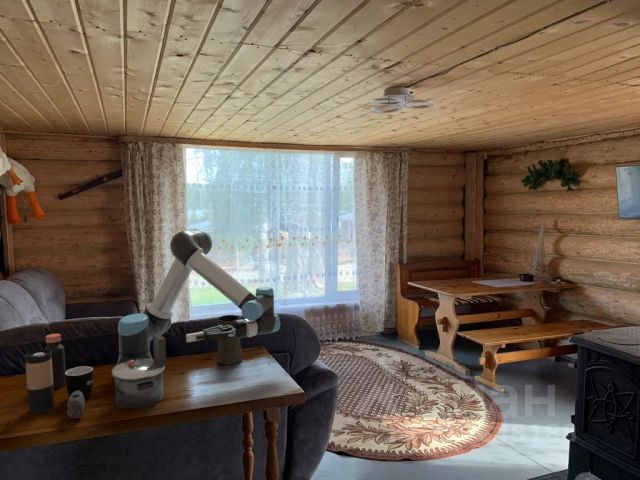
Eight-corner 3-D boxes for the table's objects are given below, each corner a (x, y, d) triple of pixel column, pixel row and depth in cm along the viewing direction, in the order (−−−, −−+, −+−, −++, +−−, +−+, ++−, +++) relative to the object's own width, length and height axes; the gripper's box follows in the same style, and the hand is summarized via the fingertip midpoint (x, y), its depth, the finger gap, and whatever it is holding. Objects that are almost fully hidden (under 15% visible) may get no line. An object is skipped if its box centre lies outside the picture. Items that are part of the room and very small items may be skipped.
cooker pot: (170, 403, 159) (169, 375, 158) (121, 415, 150) (120, 386, 149) (155, 384, 175) (154, 359, 174) (111, 394, 166) (109, 367, 165)
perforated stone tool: (70, 404, 158) (69, 385, 157) (87, 402, 160) (86, 383, 160) (65, 424, 144) (64, 403, 144) (84, 420, 147) (83, 400, 146)
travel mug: (36, 404, 158) (32, 349, 156) (58, 404, 158) (55, 348, 157) (23, 415, 150) (20, 357, 148) (47, 414, 151) (44, 356, 149)
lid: (170, 372, 159) (169, 342, 158) (117, 384, 149) (115, 351, 148) (157, 358, 174) (156, 330, 173) (107, 368, 164) (106, 338, 163)
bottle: (57, 381, 178) (54, 332, 176) (70, 383, 176) (67, 333, 174) (41, 388, 172) (38, 337, 170) (54, 390, 169) (51, 339, 168)
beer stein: (239, 365, 195) (238, 320, 193) (214, 365, 195) (213, 320, 193) (245, 353, 210) (245, 311, 208) (223, 353, 210) (222, 311, 208)
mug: (89, 402, 160) (87, 374, 159) (62, 404, 158) (60, 376, 157) (100, 388, 171) (99, 362, 171) (75, 389, 170) (73, 363, 169)
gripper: (251, 341, 179) (192, 352, 166) (237, 333, 189) (181, 343, 176) (250, 322, 178) (191, 332, 165) (237, 315, 189) (181, 324, 176)
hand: (186, 338), depth 171 cm, fingers closed
